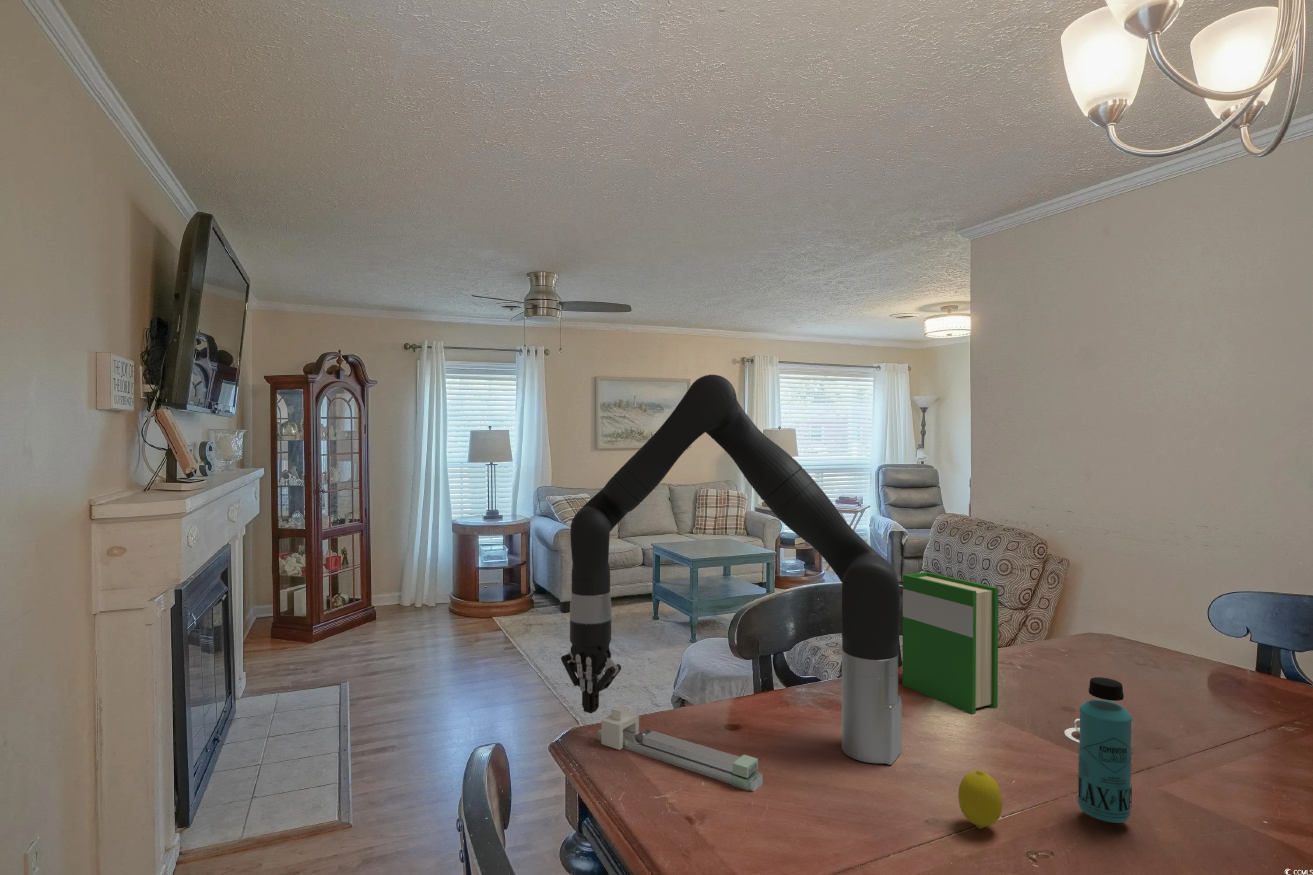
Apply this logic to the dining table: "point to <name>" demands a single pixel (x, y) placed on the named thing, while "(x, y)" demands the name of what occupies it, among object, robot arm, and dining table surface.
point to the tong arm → (702, 754)
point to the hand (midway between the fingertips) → (590, 711)
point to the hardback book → (950, 640)
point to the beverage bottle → (1105, 753)
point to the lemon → (980, 799)
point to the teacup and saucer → (1070, 730)
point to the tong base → (688, 762)
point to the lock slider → (618, 726)
